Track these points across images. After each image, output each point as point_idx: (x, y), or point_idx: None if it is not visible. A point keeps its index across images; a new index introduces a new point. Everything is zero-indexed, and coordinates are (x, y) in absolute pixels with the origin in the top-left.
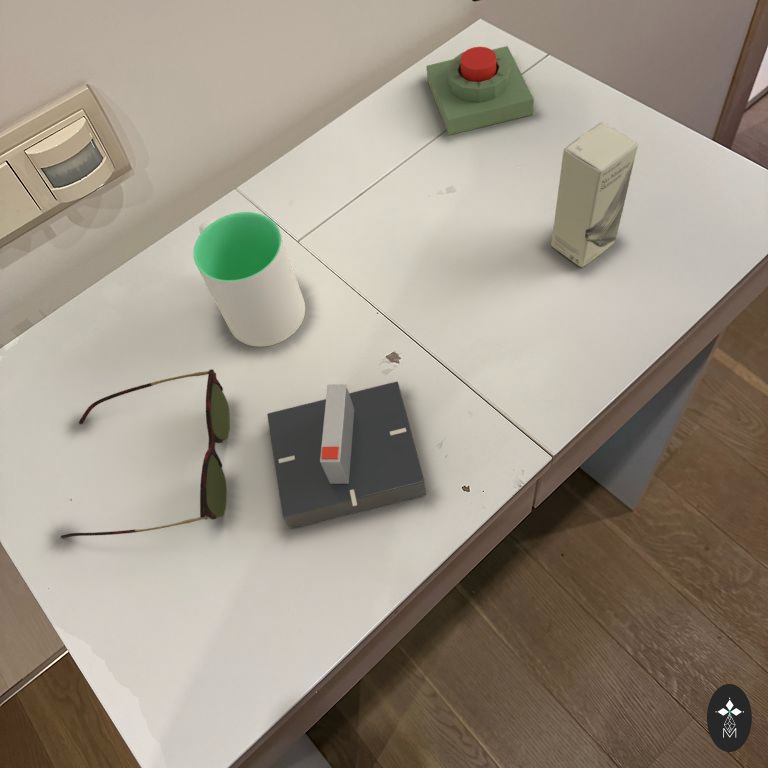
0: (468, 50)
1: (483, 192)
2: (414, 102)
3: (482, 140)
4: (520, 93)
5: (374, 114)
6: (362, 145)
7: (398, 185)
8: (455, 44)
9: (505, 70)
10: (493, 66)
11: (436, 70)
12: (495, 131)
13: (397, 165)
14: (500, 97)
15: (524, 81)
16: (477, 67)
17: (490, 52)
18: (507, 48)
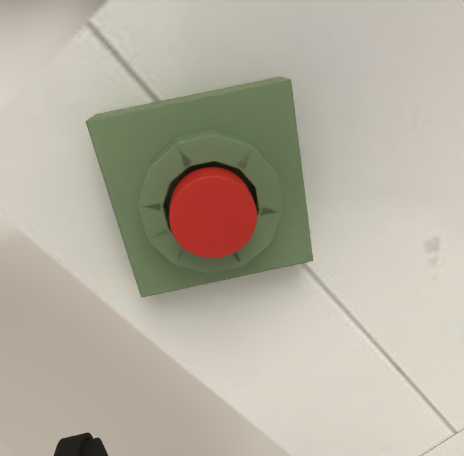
0: (180, 239)
1: (456, 192)
2: (202, 300)
3: (330, 185)
4: (266, 108)
5: (223, 360)
6: (294, 373)
7: (396, 320)
8: (24, 223)
9: (230, 147)
10: (240, 182)
11: (159, 278)
12: (311, 159)
13: (353, 323)
14: (269, 154)
15: (227, 94)
16: (249, 222)
17: (198, 189)
18: (96, 122)
